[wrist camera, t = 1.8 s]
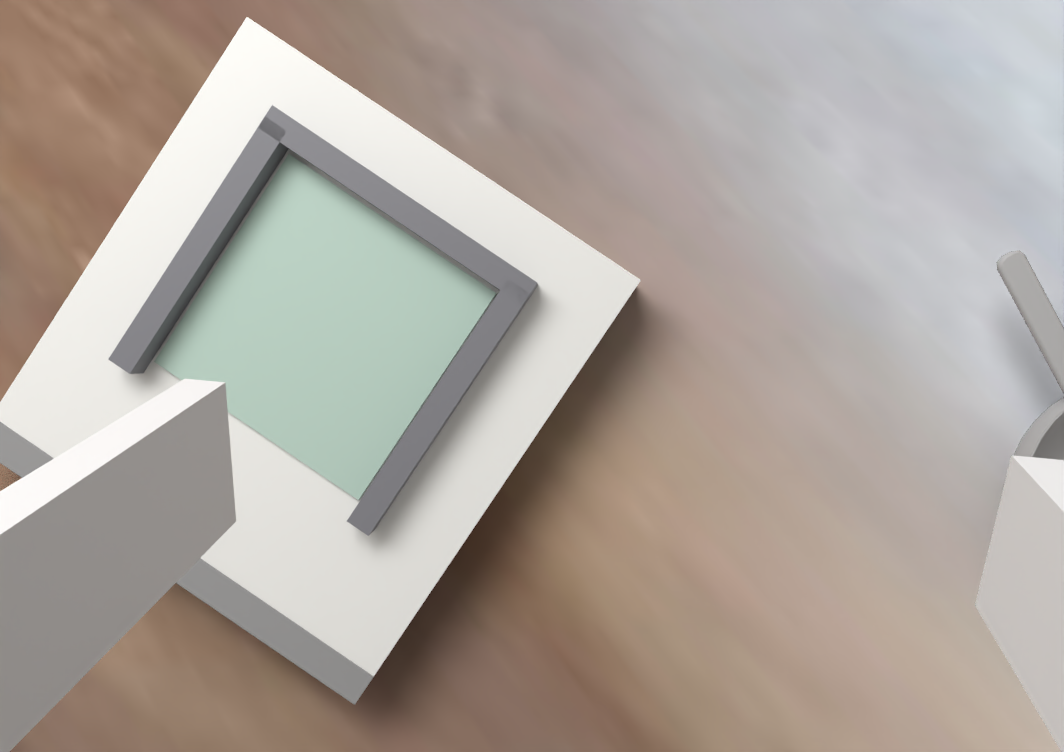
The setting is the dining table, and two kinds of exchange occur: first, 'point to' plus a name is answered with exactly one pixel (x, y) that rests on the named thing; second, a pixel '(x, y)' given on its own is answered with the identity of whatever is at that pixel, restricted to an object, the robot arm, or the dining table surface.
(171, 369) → the dock
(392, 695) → the dining table surface
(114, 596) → the robot arm
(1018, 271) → the saucepan
